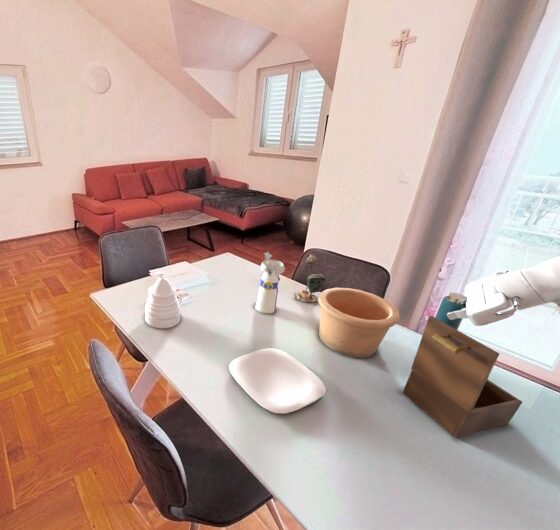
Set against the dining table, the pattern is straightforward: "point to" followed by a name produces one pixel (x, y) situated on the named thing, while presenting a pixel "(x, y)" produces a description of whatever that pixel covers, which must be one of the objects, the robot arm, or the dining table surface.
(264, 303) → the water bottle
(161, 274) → the honey pot
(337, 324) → the pottery
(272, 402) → the plate
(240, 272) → the dining table surface
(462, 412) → the chest
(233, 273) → the dining table surface
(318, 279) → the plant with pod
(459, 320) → the spray can
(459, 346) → the chest lid
